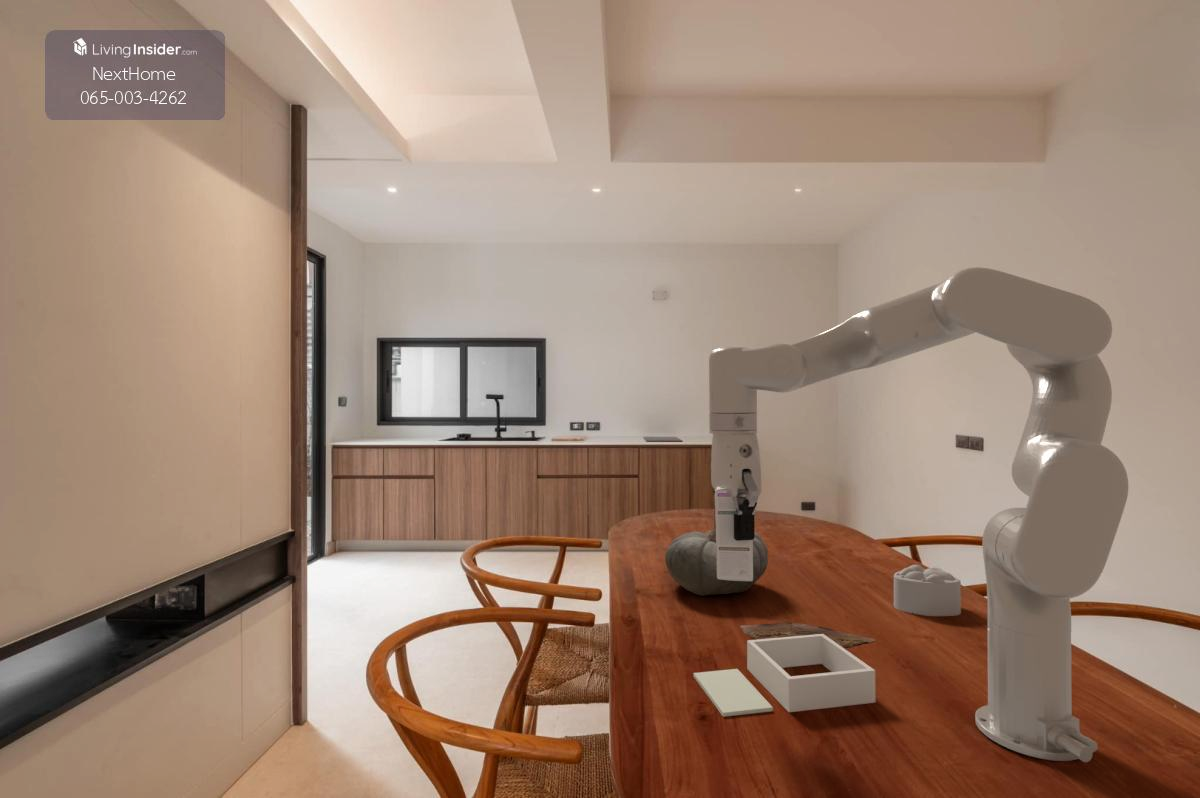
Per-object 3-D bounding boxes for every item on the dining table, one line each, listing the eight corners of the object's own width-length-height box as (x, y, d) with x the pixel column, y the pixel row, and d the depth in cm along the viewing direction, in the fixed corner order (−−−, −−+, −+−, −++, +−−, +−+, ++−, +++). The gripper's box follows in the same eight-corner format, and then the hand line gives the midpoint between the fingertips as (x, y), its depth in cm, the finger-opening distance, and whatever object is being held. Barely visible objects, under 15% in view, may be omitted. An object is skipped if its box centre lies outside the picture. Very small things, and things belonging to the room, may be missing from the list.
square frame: (875, 702, 92) (875, 670, 92) (788, 712, 89) (788, 679, 89) (823, 661, 106) (823, 633, 106) (747, 668, 104) (747, 640, 104)
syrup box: (754, 582, 92) (753, 489, 92) (715, 579, 93) (714, 488, 93) (752, 571, 98) (751, 483, 98) (715, 569, 99) (715, 482, 99)
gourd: (795, 585, 141) (780, 514, 141) (710, 620, 130) (694, 543, 131) (731, 569, 164) (718, 507, 164) (654, 597, 153) (641, 532, 153)
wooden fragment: (737, 640, 117) (737, 635, 117) (741, 620, 127) (741, 615, 127) (881, 657, 109) (881, 651, 109) (872, 634, 119) (872, 629, 119)
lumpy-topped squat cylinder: (967, 616, 128) (967, 576, 128) (908, 616, 128) (907, 576, 128) (938, 599, 138) (938, 562, 138) (884, 600, 138) (883, 563, 138)
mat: (772, 711, 90) (772, 707, 90) (723, 716, 88) (723, 712, 88) (737, 672, 102) (737, 668, 102) (693, 676, 101) (693, 673, 101)
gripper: (780, 426, 88) (781, 546, 88) (733, 421, 105) (733, 522, 105) (732, 427, 86) (733, 548, 86) (692, 422, 103) (693, 524, 103)
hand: (733, 533), depth 95 cm, fingers closed on syrup box, 7 cm apart
